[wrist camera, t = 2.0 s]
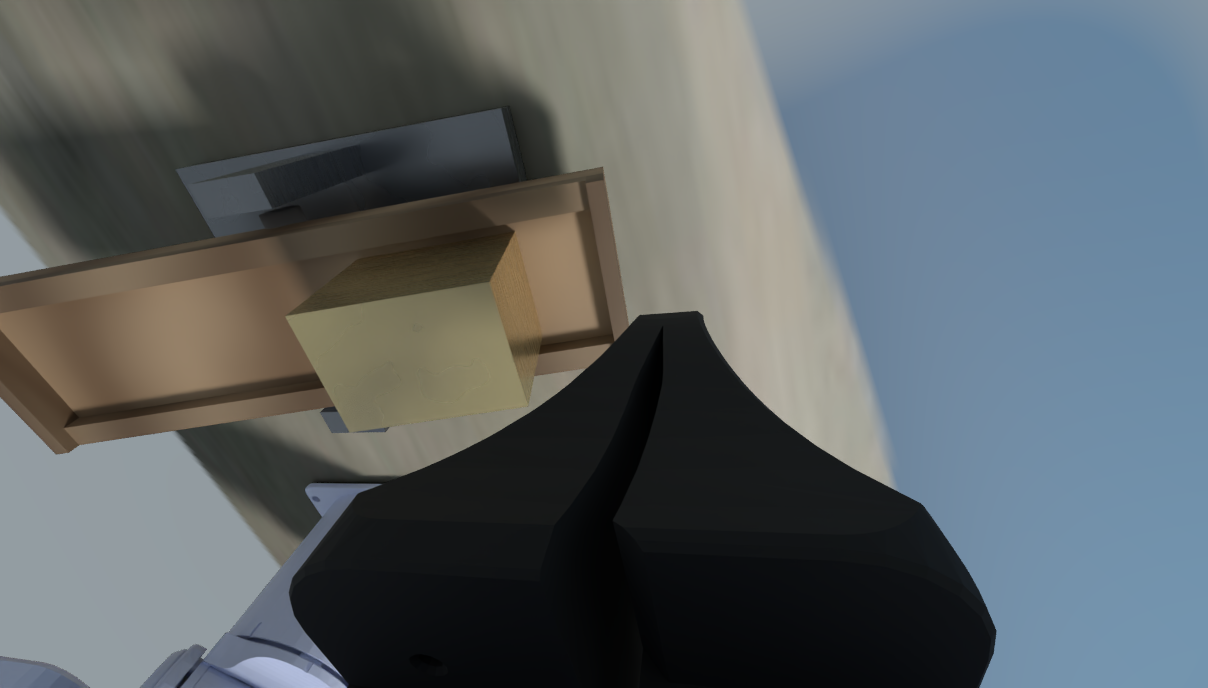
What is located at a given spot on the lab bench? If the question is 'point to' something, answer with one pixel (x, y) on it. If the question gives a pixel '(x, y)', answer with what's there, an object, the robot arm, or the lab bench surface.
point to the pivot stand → (358, 176)
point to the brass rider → (424, 333)
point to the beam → (275, 309)
